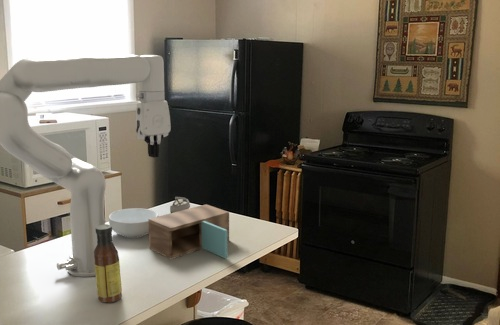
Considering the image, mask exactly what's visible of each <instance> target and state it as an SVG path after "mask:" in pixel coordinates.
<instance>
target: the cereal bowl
mask: <svg viewBox="0 0 500 325" xmlns="http://www.w3.org/2000/svg"><path fill="white" fill-rule="evenodd" d="M158 216H159V213H158V212H157V211H155V210H153V209H148V208H140V207H139V208H137V207H135V208H132V207H131V208H124V209H123V208H122V209H119V210H115V211H112V212H111V213H110V214H109V216H108V225H111V226H112V232H114V233H116V234H118V235H121V236H123V238H130V239H137V238H142V237H144V236H145V235H147V234H148V235H149V223H148V219H150V218H154V217H158Z"/></svg>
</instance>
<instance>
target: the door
mask: <svg viewBox="0 0 500 325" xmlns="http://www.w3.org/2000/svg"><path fill="white" fill-rule="evenodd" d="M201 229H202V248H203V249H202V250H206V251H207V252H210V253H212V254H214V255H216V256H219V257H221V258H223V259H227V258H228V242H229V241H230V236H229V237H228V236H227V230H226V229H224V228H221V227H219V226H216V225H214V224H211V223H209V222H206V221H201Z"/></svg>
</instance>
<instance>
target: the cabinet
mask: <svg viewBox="0 0 500 325" xmlns="http://www.w3.org/2000/svg"><path fill="white" fill-rule="evenodd" d="M201 221H206V222H209V223H211V224H214V225H216V226H219V227H221V228H224V229H226V230H227V236H228V237H229V238H230V211H227V210H224V209H221V208H218V207H216V206H212V205H210V204H207V203H206V204H203V205H197V206H194V207H190V208H189V209H186V210H182V211H178V212H174V213H171V212H170V213H166V214H162V215H158V217H154V218H150V219H148V223H149V233H148V246H149V248H150V250H152V251H154V252H156V253H158V252H159V253H158V254H160V253H161V254H160V255H162V254H163V255H162V256H165V257H166V256H167V258H169V259H175V258H178V257H181V256H185V255H187V254H190V253H191V254H192V253H194V252H198V251H200V250H204V249H203V248H202V229H201ZM149 248H148V249H149Z"/></svg>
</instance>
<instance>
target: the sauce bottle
mask: <svg viewBox="0 0 500 325" xmlns="http://www.w3.org/2000/svg"><path fill="white" fill-rule="evenodd" d="M112 232H113V230H112V226H111V225H110V224H109V223H108V224H106V223H105V224H103V225H99V226H97V227H96V233H97V246H96V248H95V250H94V259H95V263H94V264H95V274H96V276H95V282H96V295H97V298H98V301H99V302H101V303H107V304H109V303H115V302H117V301H119V300H120V299H121V298H122V295H123V293H122V291H123V289H122V278H121V276H122V275H121V267H120V266H121V265H120V257H119V251H118V250H117V248H116V246H115V244H114V241H113V233H112Z"/></svg>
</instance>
